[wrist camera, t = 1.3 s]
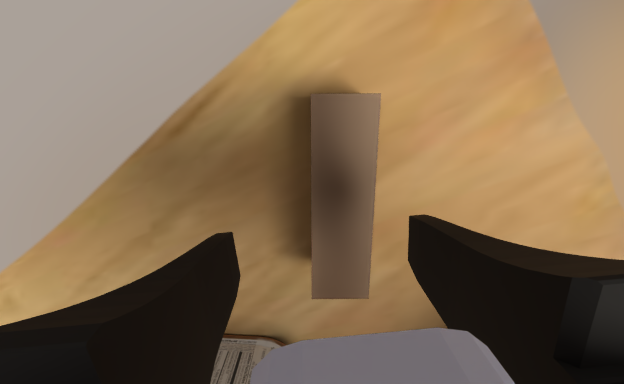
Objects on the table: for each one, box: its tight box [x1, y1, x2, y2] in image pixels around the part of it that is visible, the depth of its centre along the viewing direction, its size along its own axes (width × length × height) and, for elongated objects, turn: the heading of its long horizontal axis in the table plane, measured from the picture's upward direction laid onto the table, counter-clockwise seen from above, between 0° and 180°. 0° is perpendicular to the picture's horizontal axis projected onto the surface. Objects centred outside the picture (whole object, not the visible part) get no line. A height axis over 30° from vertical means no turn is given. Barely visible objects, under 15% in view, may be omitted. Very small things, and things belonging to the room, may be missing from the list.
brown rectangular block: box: [311, 93, 381, 299], centre depth 19 cm, size 4×12×5 cm, turn 0°
